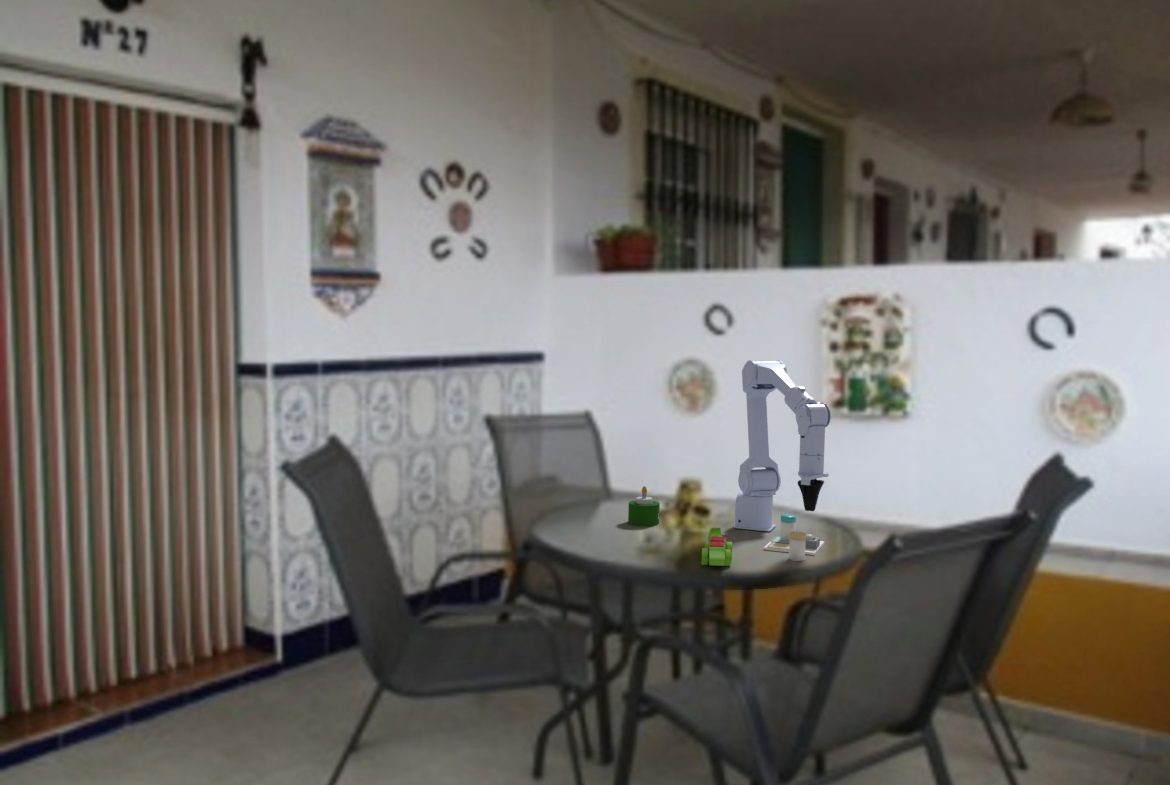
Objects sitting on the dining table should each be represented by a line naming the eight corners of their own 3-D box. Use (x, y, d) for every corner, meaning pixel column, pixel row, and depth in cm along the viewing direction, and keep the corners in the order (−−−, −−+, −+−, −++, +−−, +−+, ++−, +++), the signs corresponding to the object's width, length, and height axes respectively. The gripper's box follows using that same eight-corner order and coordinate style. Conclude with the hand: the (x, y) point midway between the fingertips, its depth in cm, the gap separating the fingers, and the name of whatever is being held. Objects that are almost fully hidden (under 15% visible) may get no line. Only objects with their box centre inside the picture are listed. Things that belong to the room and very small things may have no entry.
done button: (803, 544, 238) (804, 535, 238) (805, 542, 240) (805, 533, 240) (812, 545, 237) (812, 536, 237) (813, 543, 239) (814, 534, 239)
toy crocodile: (730, 573, 216) (730, 546, 215) (699, 571, 217) (699, 544, 216) (733, 552, 235) (733, 527, 234) (704, 550, 236) (705, 525, 236)
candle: (657, 520, 270) (658, 483, 269) (660, 526, 262) (661, 489, 261) (627, 519, 270) (627, 483, 269) (629, 526, 261) (630, 488, 261)
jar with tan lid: (787, 560, 228) (788, 534, 227) (790, 556, 231) (791, 531, 231) (803, 561, 226) (804, 535, 226) (806, 558, 230) (807, 532, 229)
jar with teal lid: (779, 541, 243) (780, 517, 243) (780, 537, 247) (781, 513, 246) (794, 542, 242) (795, 518, 242) (795, 538, 246) (796, 515, 245)
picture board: (763, 549, 237) (764, 539, 237) (775, 538, 249) (776, 528, 249) (814, 555, 233) (814, 544, 232) (824, 543, 245) (824, 533, 244)
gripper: (823, 459, 229) (821, 517, 230) (834, 451, 242) (832, 506, 243) (792, 457, 231) (790, 514, 232) (804, 449, 245) (803, 504, 246)
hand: (809, 510), depth 238 cm, fingers closed
